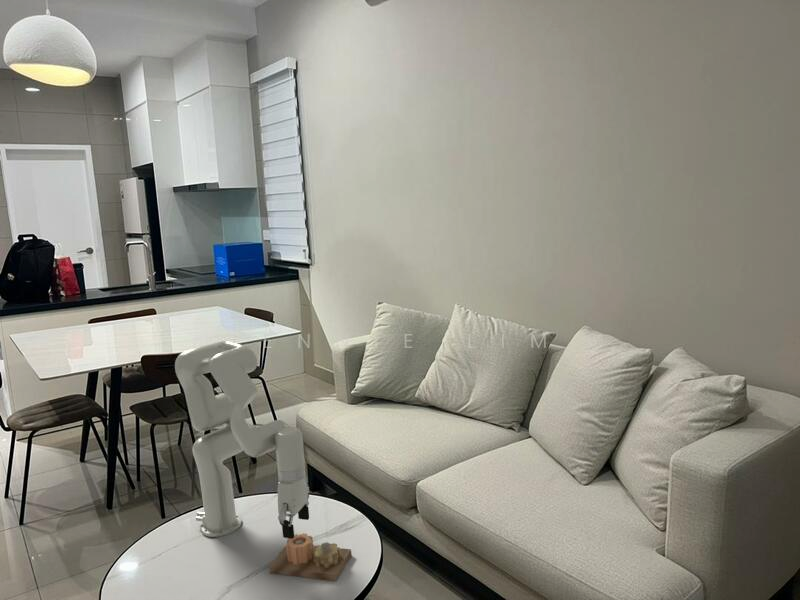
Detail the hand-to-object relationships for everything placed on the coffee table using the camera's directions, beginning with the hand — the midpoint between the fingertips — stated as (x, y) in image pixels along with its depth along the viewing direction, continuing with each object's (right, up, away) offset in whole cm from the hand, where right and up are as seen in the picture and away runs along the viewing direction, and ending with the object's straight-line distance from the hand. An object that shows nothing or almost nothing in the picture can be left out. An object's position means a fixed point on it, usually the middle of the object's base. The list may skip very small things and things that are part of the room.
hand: (296, 528), depth 172 cm
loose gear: (+1, -9, +1) cm, 9 cm away
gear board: (+4, -11, +1) cm, 11 cm away
